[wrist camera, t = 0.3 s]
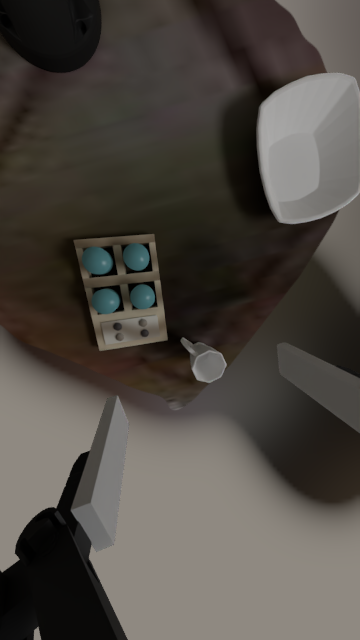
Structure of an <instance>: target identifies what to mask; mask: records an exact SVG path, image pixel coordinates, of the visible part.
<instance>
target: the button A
mask: <svg viewBox="0 0 360 640" xmlns="http://www.w3.org/2000/svg"><path fill="white" fill-rule="evenodd" d="M82 263H83V265H84V267H85V268H86V269H87V270H88V271H89V272H91V273H93V274H106V273H108V272H110V271H111V269H112V267H113V259H112V257H111V255H110V254H109V253H108V252H107V251H105V250H103V249H102V248H100V247H89V248H87V249H86V250H85V251H84V252H83V255H82Z"/></svg>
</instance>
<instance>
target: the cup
mask: <svg viewBox="0 0 360 640" xmlns="http://www.w3.org/2000/svg"><path fill="white" fill-rule="evenodd" d="M180 341H181V343H182V344H183V346H184V347H185V348H186V349H187V350H188V351H189V352H190V362H191V368H192V371H193V373H194V375H195V377H196V379H197V380H199V381H203V382H208V383H210V382H212V381H214V380H216V379H218V378H220V377H221V376H222V374H223V372H224V369H225V367H226V363H225V360H224V358H223V356H222V354H221V353H220V352H218V351H216V350H215V349H213V348H212V347H209V346H207V345H205V344H203V343H200V342H197V343H195V344H192V343H191V342H190V341H188V340H187V339H185V338H182V339H181V340H180ZM190 346H191V347H190Z"/></svg>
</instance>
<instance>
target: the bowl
mask: <svg viewBox="0 0 360 640" xmlns="http://www.w3.org/2000/svg"><path fill="white" fill-rule="evenodd" d="M256 140H257V155H258V163H259V172H260V176H261V180H262V184H263V188H264V193H265V196H266V199H267V201H268V204H269V207H270V209H271V211H272V213H273V215H274V216H275V218H276V220H277V221H278V222H280V223H287V224H297V223H303V222H309V221H312V220H316V219H320V218H322V217H325V216H327V215H329V214H331V213H333V212H335V211H337V210H339V209H340V208H342V207H344V206H346V205H347V204H349V203H350V202H351V201H352V200H353V199H354V198H355V197H356V196H357V195H358V194H359V193H360V91H359V88H358V85H357V82H356V79H355V78H354V77H352V76H349V75H346V74H343V73H322V74H316V75H310V76H306V77H303V78H301V79H298V80H296V81H293V82H291V83H289V84H287V85H285V86H283V87H281V88H280V89H278V90H276V91H274V92H273V93H272V94H271V95H270V96H269V97H268V98H267V99H266V100H264V101H263V102H262V103H261V105H260V107H259V110H258V118H257V126H256Z"/></svg>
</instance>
